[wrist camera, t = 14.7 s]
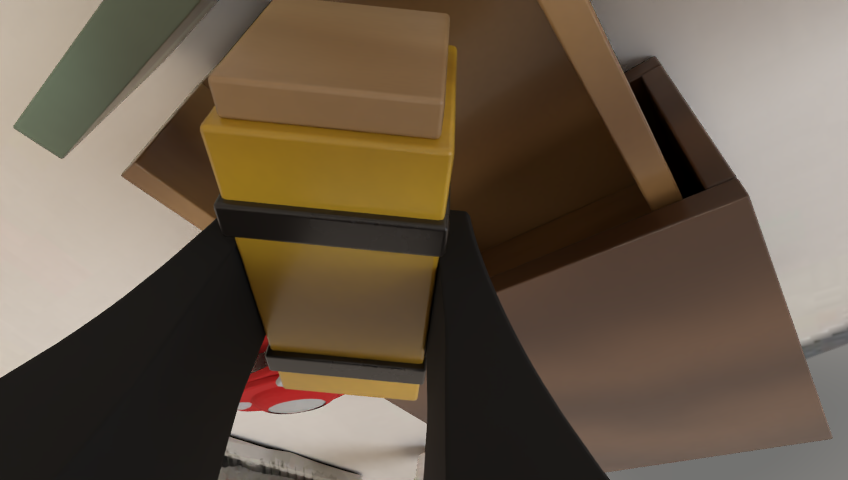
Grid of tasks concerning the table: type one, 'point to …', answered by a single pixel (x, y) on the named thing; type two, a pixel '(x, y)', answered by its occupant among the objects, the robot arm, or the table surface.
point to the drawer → (474, 120)
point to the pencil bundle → (338, 186)
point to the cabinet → (666, 317)
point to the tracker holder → (278, 394)
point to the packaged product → (274, 465)
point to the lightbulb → (420, 467)
